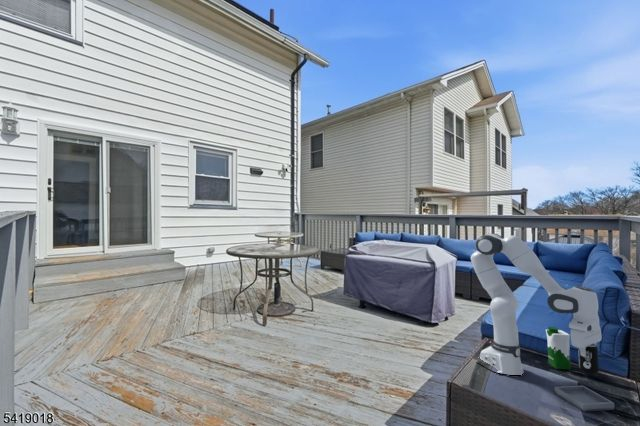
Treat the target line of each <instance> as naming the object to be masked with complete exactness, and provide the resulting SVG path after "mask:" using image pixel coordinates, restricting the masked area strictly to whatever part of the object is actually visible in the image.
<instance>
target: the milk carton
mask: <svg viewBox="0 0 640 426" xmlns="http://www.w3.org/2000/svg"><path fill="white" fill-rule="evenodd" d="M545 333H546V340H547V357H548V358H547V360H548V364H549V365H550V366H551V367H553V368H554V369H557V370H572V365H571V362H572V361H571V350H570V347H571V346H570V341H571V334H569V333H568V332H566V331H564V330H561V329H559V328H558V327H556V326H555V327H554V326H549V327H548V329H545Z"/></svg>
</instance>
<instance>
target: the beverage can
mask: <svg viewBox="0 0 640 426" xmlns="http://www.w3.org/2000/svg"><path fill="white" fill-rule="evenodd" d="M577 350H578V351H577V352H578V366H579V369H580V370H581V371H583V372H584V373H588V374H598V373H599V372H600V371H599V367H600V366H599V354H598V353H599V352H598V347H597V344H596V345H595V344H592V345H590V346H587V347H586V349H585V351H586V352H587V356H585V357H584V356H581V354H580V350H579V348H577Z"/></svg>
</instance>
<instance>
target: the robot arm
mask: <svg viewBox="0 0 640 426" xmlns="http://www.w3.org/2000/svg"><path fill="white" fill-rule="evenodd" d="M475 247H476V251H474V252H473V253H472V254H471V255H470V261H471V265H472V267H473V270H474V272H475V275H476V276H477V279H478V280H479V282H480V284H481V286H482V288H483V289H484V290H485V291H486V292H487V294H488V295H489V297H490V299H491V301H490V305H489V309H490V315H491V320H492V324H493V339H491V340H489V344H490V346H487V347H486V348H484V349H482V350H481V351H480V354H479V357H480V359H481V360H483V361H484V362H486V363H488V364H490V365H491V366H493V367H495V368H496V369H497V370H498V371H497V372H498V373H504V374H509V375H521V376H523V375H524V374H525V372H524V369H523V366H522V362H521V345H520V343H519V328H518V324H517V317H516V314H517V313H516V312H517V310H518V308H519V300H518V299H517V297H516V296H515V294H514V293H513V291H512V289H511V288H510V286H508V284H507V283H506V281H505V280H504V277H503V276H502V273H501V272H500V270H499V268H498V267H497V264H496V263H495V261H494V256H495V255H497V254H499V253H502V254H504V255H505V256H506V257H507V259H509V261H510V262H511V264H513V265H514V266H515V267H516V268H517V269H518V270H519V272H522V273H524V274H527V275H528V276H532V277H533V278H534V279H535V280H536V281H537V282H538V283H539V285H541V286H542V287H543V289H544V290H545V291H546V292H547V294H548V298H547V299H546V300H547V306H548V307H549V309H551V311H553V312H555V313H558V314H573V315H572V316H573V317H572V319H571V321H570V322H569V324H568V328H569V329H570V341H571V342H570V343H571V345H572V346H573V347H574V348H576V349H578V348H579V350H580V354H581V356H584V357H585V356H587V352H586V351H585V349H586V347H587V346H590V345H592V344H595V345H596V346H597V343H599V342H601V341H602V338H603V336H602V329H601V326H600V325H601V324H600V316H599V314H598V313H599V300H598V295H597V293H596V291H594V290H593V289H592V288H590V287H586V286H583V285H581V286H579V285H574V286H573V287H571V288H568V289H567V288H565V287H563V286H562V285H560V284H559V283H558V282H557V280H555V278H554V277H553V276H552V275H551V274H550V273H549V272H548V270H546V268H545V267H544V264H543V263H542V262H541V261H540V259H539V257H538V256H537V254H536V253H535V252H534V251H533V249H532V248H531V247H530V246H529V245H528V244H527V243H526V242H525V241H524V240H522V239H521V238H520V237H519V236H516V235H509V236H505V237H504V238H503V237H502V236H501V235H500V234H498V233H486V234H483V235H481V236H479V237H478V238H477V239H476V241H475ZM523 373H524V374H523ZM522 374H523V375H522ZM509 375H508V376H509Z"/></svg>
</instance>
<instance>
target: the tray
mask: <svg viewBox="0 0 640 426" xmlns="http://www.w3.org/2000/svg"><path fill="white" fill-rule="evenodd" d="M554 394H556V395H557V396H559V397H561V398H562V399H564V400H565V401H566V402H568V403H569V404H572V405H573V406H574V407H576V408H578V409H579V410H580V411H582V412H595V411H614V410H615V408H616V407H615V402H613V401H611V400H610V399H608V398H606V397H605V396H602V395H601V394H599V393H597V392H596V391H594V390H592V389H590V388H588V387H586V386H585V385H566V386H554Z"/></svg>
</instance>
